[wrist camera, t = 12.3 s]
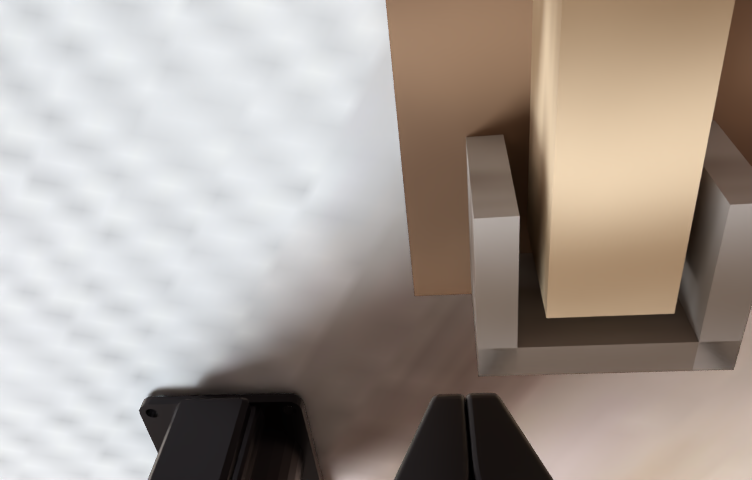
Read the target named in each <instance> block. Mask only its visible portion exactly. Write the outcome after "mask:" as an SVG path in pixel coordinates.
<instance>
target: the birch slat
mask: <svg viewBox="0 0 752 480" xmlns="http://www.w3.org/2000/svg"><path fill="white" fill-rule="evenodd" d="M734 4H735V0H533V18H532V56H531V95H530V134H529V172H528V211H527V228H528V233H529V238H530V243H531V247H532V252H533V257H534V262H535V266H536V271H537V276H538V281H539V285H540V290H541V295H542V300H543V304H544V309H545V314H546V318H564V317H592V316H620V315H648V314H674V313H675V308H676V303H677V298H678V292H679V287H680V282H681V277H682V272H683V267H684V262H685V256H686V251H687V246H688V241H689V236H690V231H691V225H692V220H693V215H694V210H695V205H696V200H697V195H698V189H699V184H700V179H701V174H702V169H703V164H704V158H705V153H706V148H707V143H708V138H709V133H710V128H711V122H712V117H713V112H714V107H715V102H716V97H717V92H718V86H719V81H720V76H721V71H722V66H723V61H724V55H725V50H726V45H727V40H728V35H729V30H730V25H731V19H732V14H733V9H734Z"/></svg>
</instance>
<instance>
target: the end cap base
mask: <svg viewBox="0 0 752 480" xmlns="http://www.w3.org/2000/svg"><path fill="white" fill-rule="evenodd" d="M386 8H387V18H388V29H389V39H390V49H391V59H392V70H393V80H394V90H395V100H396V110H397V121H398V131H399V141H400V151H401V162H402V172H403V182H404V192H405V203H406V213H407V223H408V233H409V244H410V254H411V264H412V274H413V285H414V295H415V296H429V295H454V294H472V301H473V314H474V327H475V339H476V352H477V364H478V376H512V375H550V374H587V373H625V372H662V371H699V370H734V367H735V363H736V360H737V356H738V352H739V349H740V345H741V342H742V338H743V334H744V331H745V327H746V324H747V320H748V316H749V313H750V309H751V306H752V0H735V4H734V9H733V14H732V19H731V25H730V30H729V35H728V40H727V45H726V50H725V55H724V61H723V66H722V71H721V76H720V81H719V86H718V92H717V97H716V102H715V107H714V112H713V117H712V122H711V128H710V133H709V138H708V143H707V148H706V153H705V158H704V164H703V169H702V174H701V179H700V184H699V189H698V195H697V200H696V205H695V210H694V215H693V220H692V225H691V231H690V236H689V241H688V246H687V251H686V256H685V262H684V267H683V272H682V277H681V282H680V287H679V292H678V298H677V303H676V308H675V313H674V314H648V315H620V316H592V317H564V318H546V314H545V309H544V304H543V300H542V295H541V290H540V285H539V281H538V276H537V271H536V266H535V262H534V257H533V252H532V247H531V243H530V238H529V233H528V228H527V211H528V172H529V134H530V95H531V56H532V18H533V0H386Z"/></svg>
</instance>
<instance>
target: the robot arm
mask: <svg viewBox="0 0 752 480" xmlns="http://www.w3.org/2000/svg"><path fill="white" fill-rule="evenodd" d="M465 403H466V404H465ZM290 406H292V407H290ZM139 412H140V415H141V417H142V419H143V422H144V424H145V426H146V428H147V430H148V432H149V435H150V437H151V439H152V441H153V443H154V445H155V448H156V450H157V452H158V455H157V458H156V460H155V463H154V465H153V468H152V470H151V473H150V475H149V478H148V480H323V478H322V474H321V470H320V466H319V462H318V458H317V454H316V450H315V446H314V442H313V438H312V434H311V430H310V426H309V422H308V418H307V414H306V410H305V406H304V402H303V400H302V399H301V398H300V397H299V396H297V395H295V394H289V393H286V394H246V395H205V396H165V397H148V398H146V399H144V401H143V403H142V405H141V408H140V410H139ZM394 480H553V479H552V477H551V475H550V474H549V472H548V471H547V469H546V468H545V466H544V465H543V463H542V462H541V460H540V459H539V457H538V455H537V454H536V452H535V451H534V449H533V448H532V446H531V445H530V443H529V442H528V440H527V438H526V437H525V435H524V434H523V432H522V431H521V429H520V428H519V426H518V425H517V423H516V422H515V420H514V418H513V417H512V415H511V414H510V412H509V411H508V409H507V408H506V406H505V405H504V403H503V401H502V400H501V399H500V397H499V396H498V395H497V394H495V393H475V394H469V395H467V397H466V400H465V398H464V396H463V395H461V394H439V395H435V396H434V397H433V398H432V399H431V401H430V403H429V405H428V407H427V409H426V412H425V414H424V416H423V418H422V420H421V422H420V425H419V427H418V429H417V431H416V433H415V435H414V438H413V440H412V442H411V444H410V446H409V448H408V451H407V453H406V455H405V457H404V459H403V461H402V464H401V466H400V468H399V470H398V472H397V474H396V477H395V479H394Z"/></svg>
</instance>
